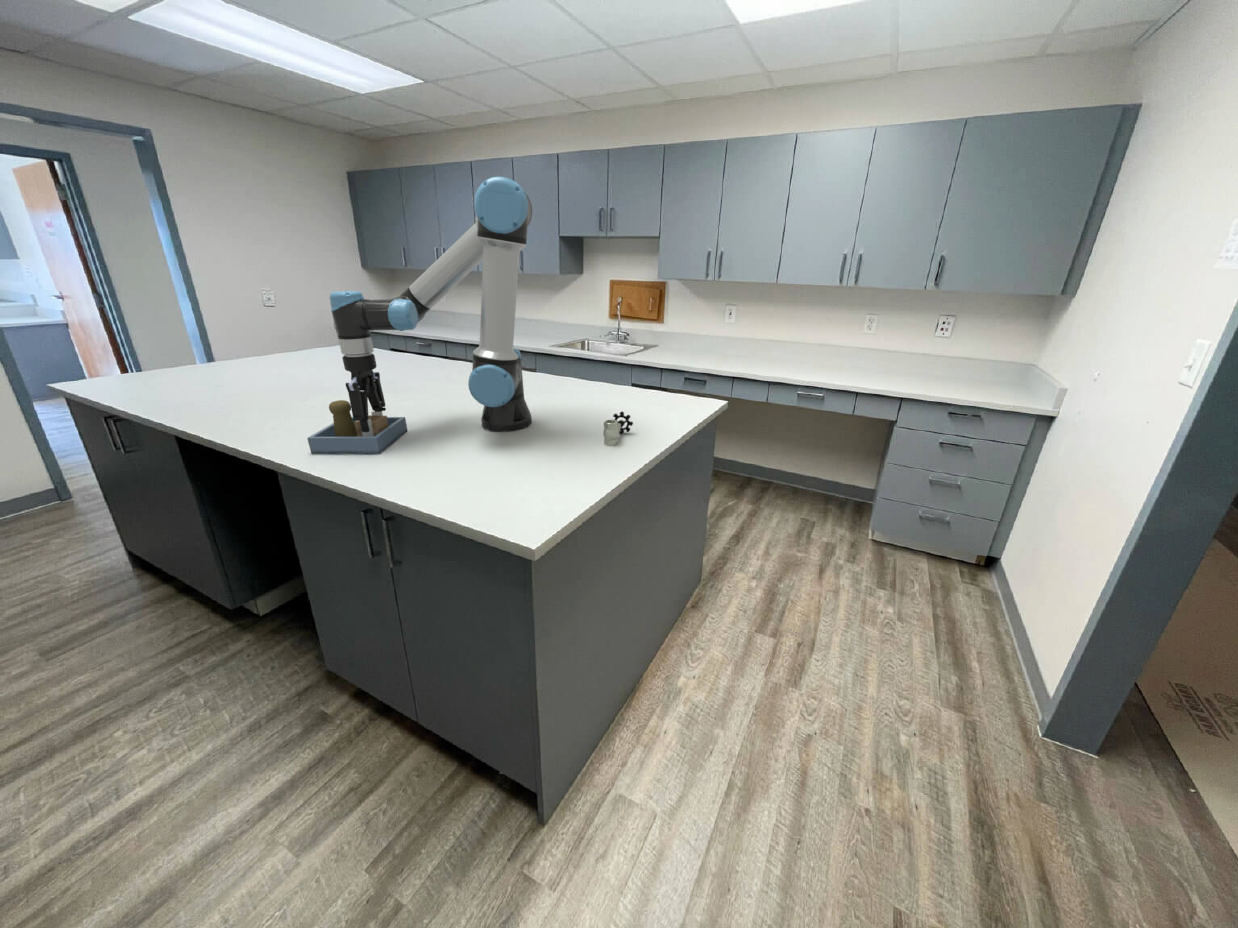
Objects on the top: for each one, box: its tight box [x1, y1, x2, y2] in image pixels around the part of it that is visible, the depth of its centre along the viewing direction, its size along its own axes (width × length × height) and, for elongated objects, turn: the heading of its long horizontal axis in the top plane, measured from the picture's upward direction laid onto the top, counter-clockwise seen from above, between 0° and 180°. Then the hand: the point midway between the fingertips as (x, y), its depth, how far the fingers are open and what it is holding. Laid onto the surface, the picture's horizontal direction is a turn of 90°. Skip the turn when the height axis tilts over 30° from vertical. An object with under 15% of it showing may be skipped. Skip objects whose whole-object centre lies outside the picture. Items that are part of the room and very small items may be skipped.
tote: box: [306, 416, 409, 455], centre depth 135 cm, size 18×18×4 cm
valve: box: [602, 411, 634, 447], centre depth 136 cm, size 7×7×12 cm
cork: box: [328, 399, 358, 437], centre depth 133 cm, size 6×6×11 cm
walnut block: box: [355, 414, 389, 437], centre depth 134 cm, size 6×6×6 cm
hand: (375, 437), depth 135 cm, fingers closed on walnut block, 6 cm apart
